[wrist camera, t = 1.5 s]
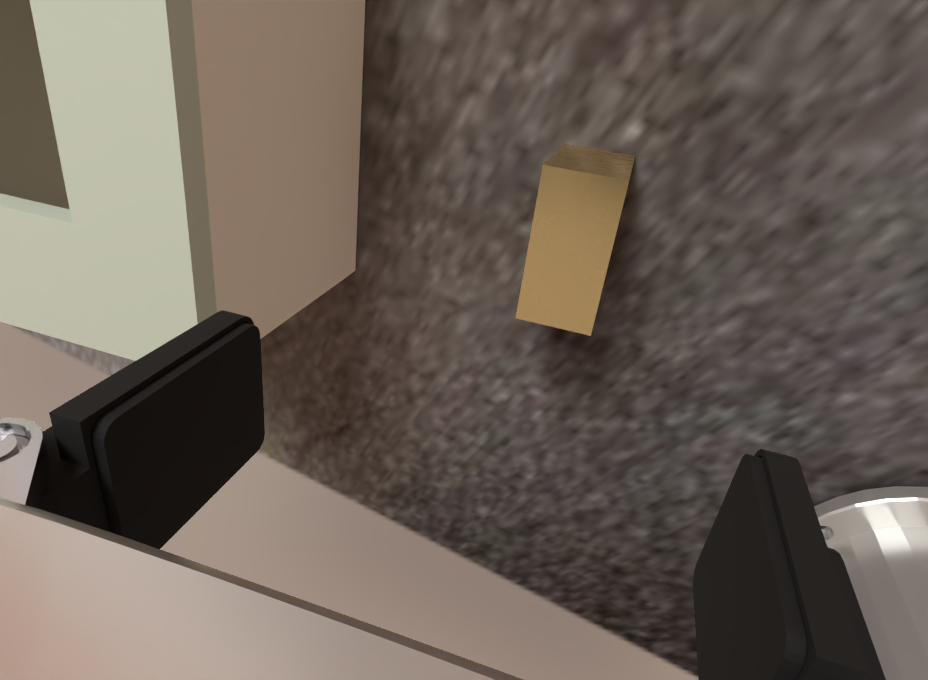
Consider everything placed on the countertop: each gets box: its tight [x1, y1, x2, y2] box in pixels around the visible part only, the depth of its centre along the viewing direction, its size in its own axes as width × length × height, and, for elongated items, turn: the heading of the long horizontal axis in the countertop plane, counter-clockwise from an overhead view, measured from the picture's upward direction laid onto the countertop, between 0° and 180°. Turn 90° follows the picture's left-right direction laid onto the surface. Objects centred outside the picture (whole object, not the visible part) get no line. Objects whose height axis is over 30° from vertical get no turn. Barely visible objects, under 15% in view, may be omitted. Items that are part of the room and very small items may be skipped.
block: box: [516, 144, 635, 336], centre depth 24 cm, size 6×3×6 cm, turn 172°
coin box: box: [0, 0, 365, 361], centre depth 23 cm, size 18×14×12 cm
